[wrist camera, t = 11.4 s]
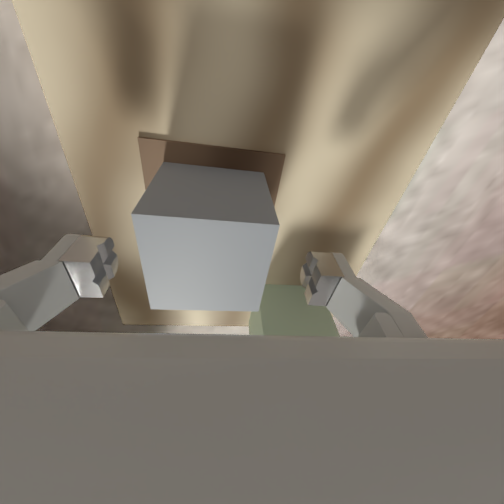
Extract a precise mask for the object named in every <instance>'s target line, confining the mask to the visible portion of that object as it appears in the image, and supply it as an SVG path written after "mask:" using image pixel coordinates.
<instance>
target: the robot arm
mask: <svg viewBox="0 0 504 504" xmlns="http://www.w3.org/2000/svg"><path fill="white" fill-rule="evenodd" d="M113 247H114V242H113V239H112V238H110V237H102V236H91V235H79V234H66V235H64V236H63V237H62V238H61V239H60V241H59V242H58V243H57V244H56V245H55V246H54V247H53V248H52V249H51V250H50V251H49V252H48V253H47V254H46V255H45V256H44V257H43V258H42V259H41V260H35V261H33V262H30V263H28V264H26V265H23V266H21V267H19V268H16V269H14V270H11V271H9V272H7V273H4V274H2V275H0V504H504V339H448V338H428V337H427V336H426V334H425V333H424V332H423V330H422V329H421V327H420V326H419V324H418V323H417V322H416V320H415V319H414V317H413V316H412V314H411V313H410V312H408V311H407V310H405V309H404V308H402V307H401V306H400V305H398V304H397V303H395V302H394V301H392V300H391V299H390V298H388V297H387V296H385V295H384V294H382V293H381V292H379V291H378V290H377V289H375V288H374V287H372V286H371V285H369V284H368V283H366V282H365V281H364V280H362V279H361V278H357V277H356V275H355V274H354V272H353V270H352V268H351V267H350V265H349V263H348V262H347V260H346V258H345V256H344V255H343V254H342V253H332V252H330V253H326V252H311V251H309V252H308V253H307V255H306V257H305V259H306V262H307V263H305V264H304V265H303V266H302V268H301V272H300V281H301V285H302V286H303V287H304V288H305V289H306V290H305V293H304V295H305V298H306V301H307V304H308V305H312V306H326V308H327V309H328V310H329V311H330V312H331V313H332V314H333V315H334V316H335V317H336V318H337V319H338V321H339V322H340V323H341V324H342V325H343V326H344V327H345V328H346V329H347V330H348V331H349V332H350V333H351V334H352V335H353V337H336V336H281V335H226V334H170V333H114V332H58V331H36V330H37V329H38V328H40V327H41V326H43V325H44V324H45V323H47V322H48V321H49V320H51V319H52V318H53V317H55V316H56V315H57V314H59V313H60V312H62V311H63V310H64V309H66V308H67V307H68V306H70V305H71V304H72V303H74V302H75V301H76V300H78V299H79V297H90V298H103V297H104V295H105V293H106V291H107V290H108V288H109V286H110V283H109V280H110V279H111V278H113V277H114V276H115V274H116V272H117V269H118V257H117V254H116V253H115V252H114V251H112V249H113Z"/></svg>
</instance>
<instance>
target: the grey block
mask: <svg viewBox="0 0 504 504" xmlns="http://www.w3.org/2000/svg"><path fill="white" fill-rule="evenodd" d="M131 216H132V221H133V226H134V231H135V235H136V240H137V245H138V250H139V255H140V260H141V265H142V269H143V274H144V279H145V284H146V289H147V294H148V299H149V304H150V308H151V309H160V310H205V311H251V312H258V311H259V307H260V303H261V299H262V295H263V291H264V287H265V283H266V279H267V275H268V271H269V267H270V263H271V259H272V255H273V250H274V246H275V242H276V238H277V234H278V230H279V226H280V224H279V221H278V218H277V214H276V211H275V208H274V205H273V201H272V198H271V195H270V191H269V188H268V185H267V182H266V178H265V175H264V173H263V172H253V171H244V170H235V169H225V168H216V167H207V166H198V165H188V164H179V163H170V162H163V163H162V165H161V166H160V168H159V170H158V171H157V173H156V175H155V176H154V178H153V179H152V181H151V183H150V184H149V186H148V187H147V189H146V191H145V192H144V194H143V195H142V197H141V199H140V200H139V202H138V203H137V205H136V207H135V208H134V210H133V211H132V213H131Z"/></svg>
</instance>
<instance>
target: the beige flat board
mask: <svg viewBox="0 0 504 504" xmlns="http://www.w3.org/2000/svg"><path fill="white" fill-rule="evenodd" d="M12 2H13V5H14V8H15V11H16V14H17V17H18V20H19V23H20V26H21V29H22V32H23V34H24V37H25V40H26V43H27V46H28V49H29V52H30V55H31V58H32V61H33V64H34V67H35V69H36V72H37V75H38V78H39V81H40V84H41V87H42V90H43V93H44V96H45V99H46V102H47V104H48V107H49V110H50V113H51V116H52V119H53V122H54V125H55V128H56V131H57V134H58V136H59V139H60V142H61V145H62V148H63V151H64V154H65V157H66V160H67V163H68V166H69V169H70V171H71V174H72V177H73V180H74V183H75V186H76V189H77V192H78V195H79V198H80V201H81V204H82V206H83V209H84V212H85V215H86V218H87V221H88V224H89V227H90V230H91V233H92V236H102V237H110V238H112V239H113V242H114V247H113V249H112V251H114V252H115V253H116V254H117V257H118V269H117V272H116V274H115V276H114V277H113V278H111V279H110V280H109V283H110V288H111V291H112V294H113V297H114V300H115V303H116V306H117V308H118V311H119V314H120V317H121V320H122V323H123V325H196V326H249V319H250V314H251V311H205V310H160V309H151V308H150V304H149V299H148V294H147V289H146V284H145V279H144V274H143V269H142V265H141V260H140V255H139V250H138V245H137V240H136V235H135V231H134V226H133V221H132V216H131V213H132V211H133V210H134V208H135V207H136V205H137V203H138V202H139V200H140V199H141V197H142V195H143V194H144V192H145V191H146V189H147V187H148V186H149V184H150V183H151V181H152V179H153V178H154V176H155V175H156V173H157V171H158V170H159V168H160V166H161V165H162V163H163V162H170V163H179V164H188V165H198V166H207V167H216V168H225V169H235V170H244V171H253V172H263V173H264V175H265V178H266V182H267V185H268V188H269V191H270V195H271V198H272V201H273V205H274V208H275V211H276V214H277V218H278V221H279V224H280V226H279V230H278V234H277V238H276V242H275V246H274V250H273V255H272V259H271V263H270V267H269V271H268V275H267V279H266V283H265V284H275V285H301V281H300V272H301V268H302V266H303V265H304V264H305V263H307V262H306V259H305V257H306V255H307V253H308V252H309V251H311V252H326V253H330V252H332V253H342V254H343V255H344V256H345V258H346V260H347V262H348V263H349V265H350V267H351V268H352V270H353V272H354V274H355V275H357V274H358V272H359V270H360V268H361V267H362V265H363V263H364V261H365V260H366V258H367V256H368V254H369V253H370V251H371V249H372V247H373V246H374V244H375V242H376V240H377V239H378V237H379V235H380V233H381V232H382V230H383V228H384V226H385V225H386V223H387V221H388V219H389V218H390V216H391V214H392V212H393V211H394V209H395V207H396V205H397V204H398V202H399V200H400V198H401V197H402V195H403V193H404V191H405V190H406V188H407V186H408V184H409V183H410V181H411V179H412V177H413V176H414V174H415V172H416V170H417V169H418V167H419V165H420V163H421V162H422V160H423V158H424V156H425V155H426V153H427V151H428V149H429V148H430V146H431V144H432V142H433V141H434V139H435V137H436V135H437V134H438V132H439V130H440V128H441V127H442V125H443V123H444V121H445V120H446V118H447V116H448V114H449V113H450V111H451V109H452V107H453V106H454V104H455V102H456V100H457V99H458V97H459V95H460V94H461V92H462V90H463V88H464V87H465V85H466V83H467V81H468V80H469V78H470V76H471V74H472V73H473V71H474V69H475V67H476V66H477V64H478V62H479V60H480V59H481V57H482V55H483V53H484V52H485V50H486V48H487V46H488V45H489V43H490V41H491V39H492V38H493V36H494V34H495V32H496V31H497V29H498V27H499V25H500V24H501V22H502V20H503V18H504V0H12ZM301 286H302V285H301ZM330 313H331V312H330ZM331 315H332V317H333V314H332V313H331Z"/></svg>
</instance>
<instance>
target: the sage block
mask: <svg viewBox="0 0 504 504" xmlns="http://www.w3.org/2000/svg"><path fill="white" fill-rule="evenodd" d="M305 290H306V289H305V288H304V287H303V286H301V285H275V284H265V287H264V291H263V295H262V299H261V303H260V307H259V311H258V312H251V314H250V319H249V334H250V335H281V336H336V337H340V335H339V333H338V330H337V328H336V325H335V323H334V320H333V318H332V315H331V313H330V311H329V310H328V309H327V308H326V306H312V305H308V304H307V301H306V298H305V295H304V293H305Z"/></svg>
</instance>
